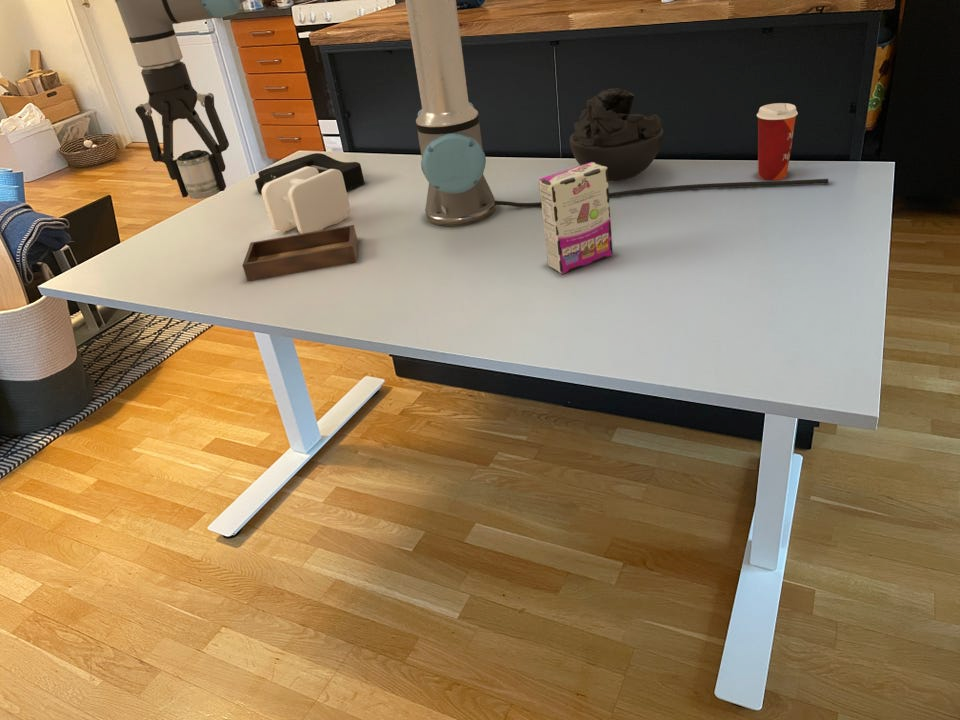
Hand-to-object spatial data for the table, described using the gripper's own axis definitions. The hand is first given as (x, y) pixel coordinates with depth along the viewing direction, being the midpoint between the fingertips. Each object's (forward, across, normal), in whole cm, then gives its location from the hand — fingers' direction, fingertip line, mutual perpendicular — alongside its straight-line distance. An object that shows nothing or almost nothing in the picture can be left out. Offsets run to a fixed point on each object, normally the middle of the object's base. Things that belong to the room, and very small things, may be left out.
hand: (204, 191), depth 142 cm
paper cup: (+17, -113, -2) cm, 115 cm away
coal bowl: (+17, -84, -16) cm, 87 cm away
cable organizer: (+17, -15, -19) cm, 30 cm away
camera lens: (+1, 0, 0) cm, 1 cm away
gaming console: (+17, -13, -47) cm, 52 cm away
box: (+17, -15, 0) cm, 23 cm away
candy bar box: (+17, -66, +23) cm, 72 cm away
